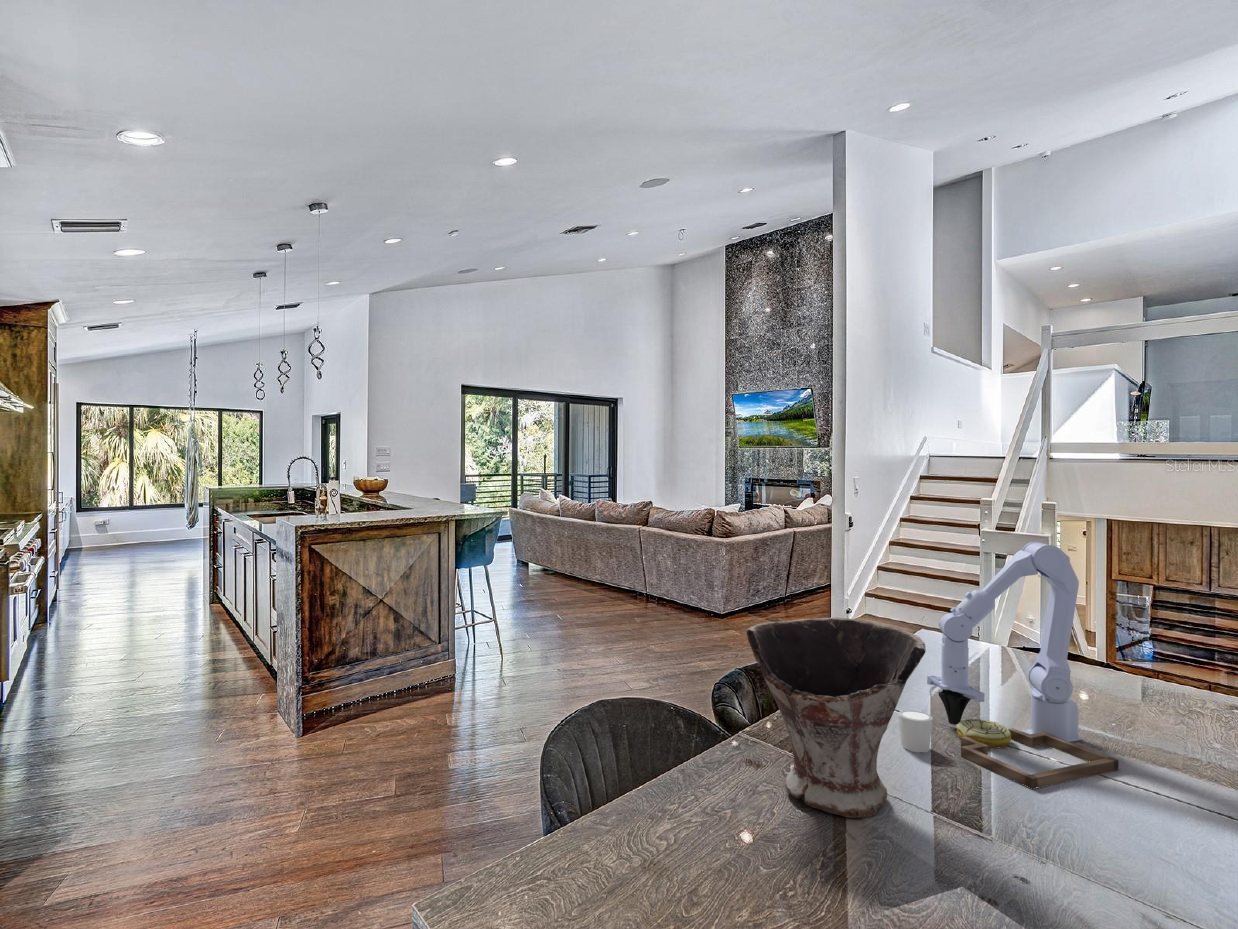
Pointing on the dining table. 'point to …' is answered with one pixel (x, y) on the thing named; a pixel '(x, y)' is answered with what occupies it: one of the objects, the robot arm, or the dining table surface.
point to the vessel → (836, 703)
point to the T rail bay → (1095, 767)
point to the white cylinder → (915, 730)
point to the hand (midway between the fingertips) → (954, 723)
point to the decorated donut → (984, 732)
